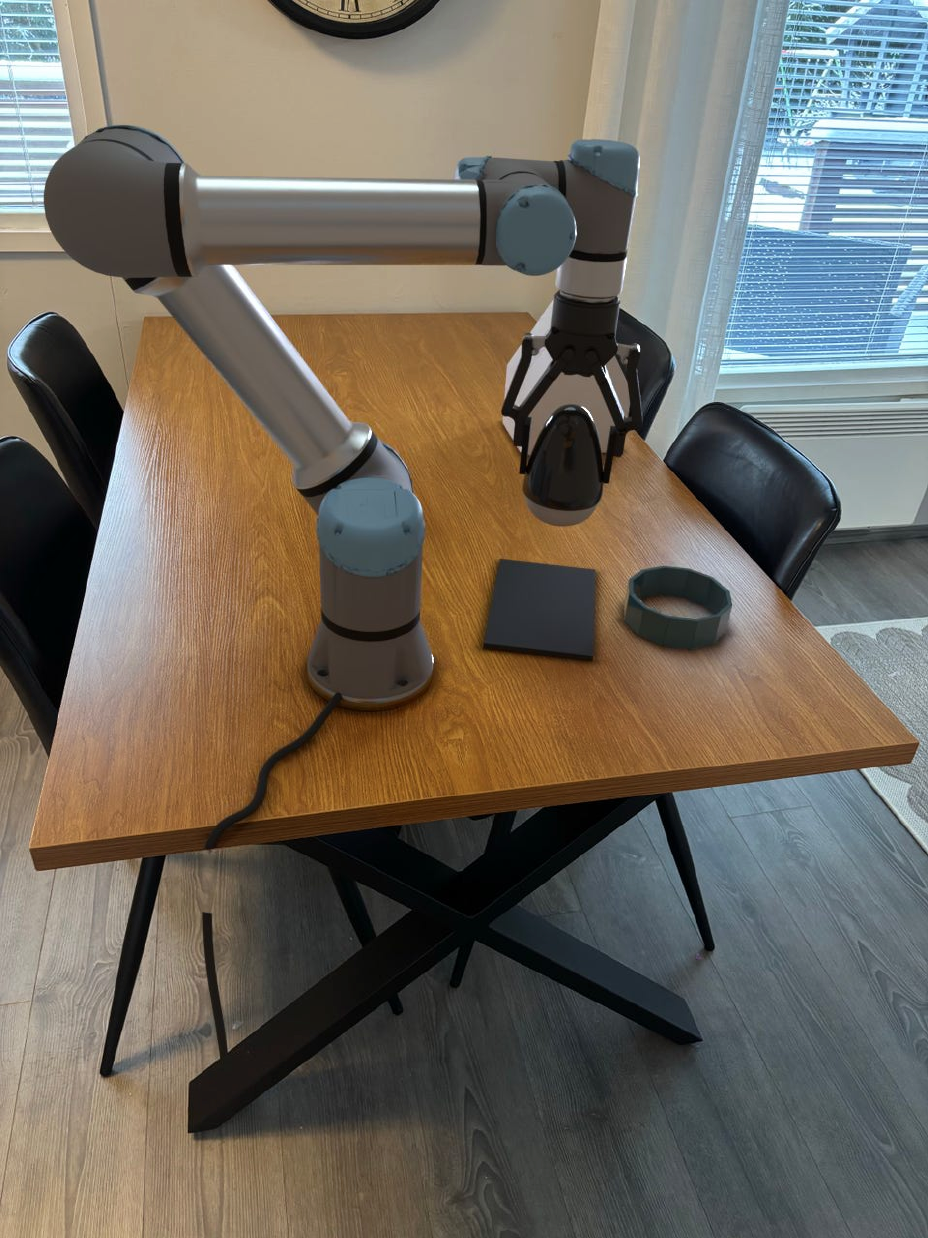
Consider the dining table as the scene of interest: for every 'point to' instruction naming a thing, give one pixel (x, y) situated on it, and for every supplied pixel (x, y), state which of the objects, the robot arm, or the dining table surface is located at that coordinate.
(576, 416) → the dark glossy rounded piece
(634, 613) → the teal ring
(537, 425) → the white pentagonal block
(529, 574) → the rubber mat
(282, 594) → the dining table surface
